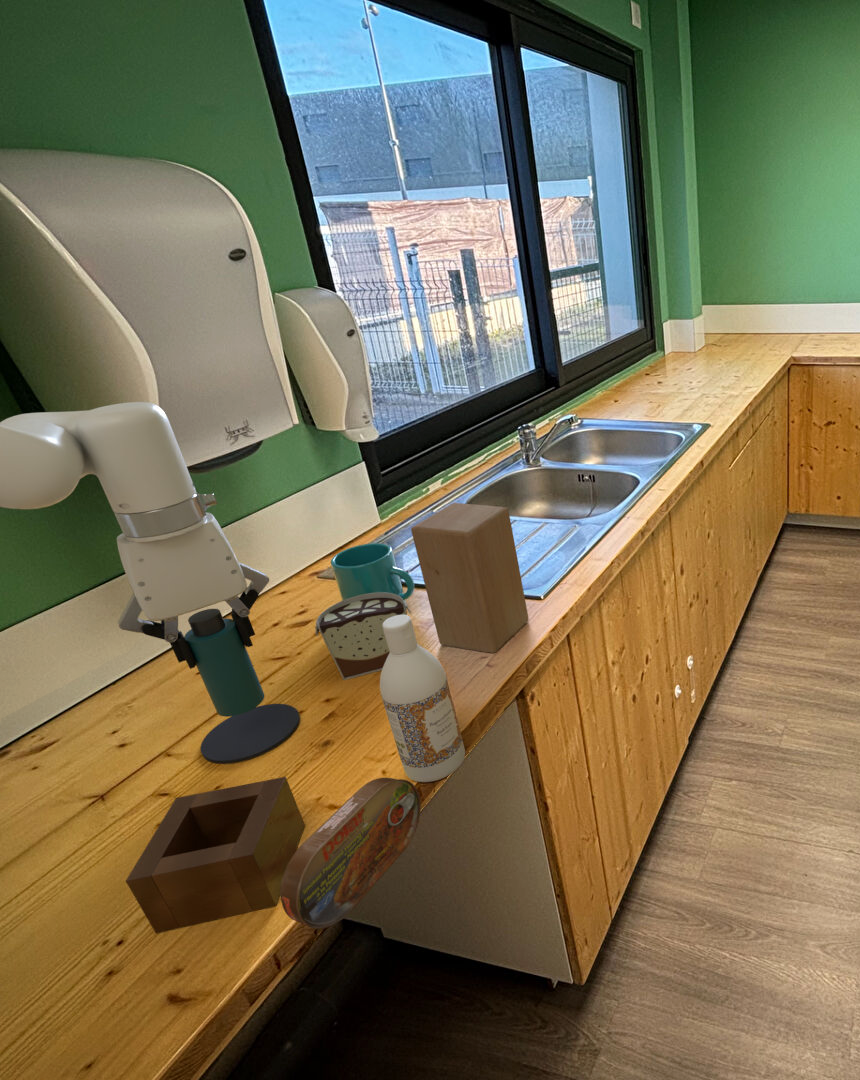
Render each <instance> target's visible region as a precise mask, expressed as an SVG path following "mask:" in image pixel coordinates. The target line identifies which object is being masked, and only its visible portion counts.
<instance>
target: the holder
mask: <svg viewBox="0 0 860 1080" xmlns="http://www.w3.org/2000/svg"><path fill="white" fill-rule="evenodd" d="M305 828H306V823H305V822H304V819H303V816H302V814H301V811H300V809H299V806H298V804H297V801H296V799H295V797H294V794H293V792H292V789H291V786H290V784H289V782H288V779H287V776H283V777H282V776H281V777H277V778H272V779H267V780H261V781H255V782H251V783H245V784H241V785H236V786H230V787H225V788H220V789H214V790H209V791H204V792H200V793H193V794H190V795H183V796H179V797H175V799H174V800H173V802H172V804H171V805H170V807H169V808H168V810H167V812H166V814H165V816H164V817H163V819H162V820H161V822H160V823H159V825H158V826H157V828H156V830H155V831H154V833H153V834H152V837H151V838H150V840H149V841H148V843H147V845H146V847H145V848H144V850H143V851H142V853H141V855H140V857H139V858H138V859H137V861H136V863H135V865H134V866H133V868H132V869H131V871H130V873H129V875H128V876H127V878H126V880H125V883H126V885H127V886H128V888H129V889H130V891H131V893H132V895H133V896H134V898H135V900H136V902H137V903H138V905H139V907H140V908H141V911H142V912H143V914H144V915H145V917H146V919H147V921H148V923H149V924H150V927H151V928H152V929H153V931H154V934H159V933H163V932H168V931H174V930H176V929H181V928H185V927H190V926H195V925H198V924H203V923H207V922H212V921H216V920H221V919H224V918H230V917H234V916H237V915H242V914H247V913H251V912H256V911H260V910H264V909H269V908H272V907H276V906H277V904H278V902H279V899H280V888H281V883H282V879H283V875H284V873H285V870H286V868H287V866H288V863H289V862H290V860H291V858H292V857H293V855H294V854H295V852H296V851H297V850H298V848H299V847H298V846H299V843H300V841H301V838H302V835H303V833H304V830H305Z"/></svg>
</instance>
